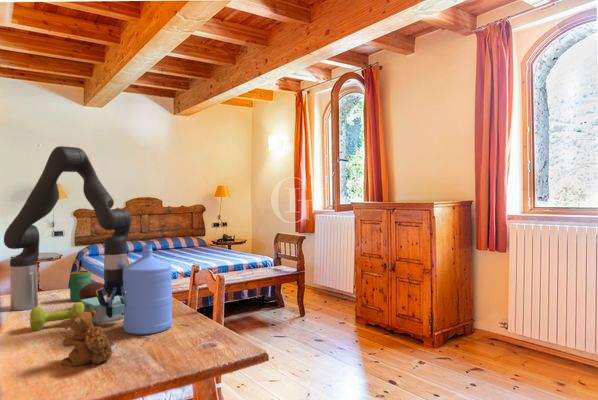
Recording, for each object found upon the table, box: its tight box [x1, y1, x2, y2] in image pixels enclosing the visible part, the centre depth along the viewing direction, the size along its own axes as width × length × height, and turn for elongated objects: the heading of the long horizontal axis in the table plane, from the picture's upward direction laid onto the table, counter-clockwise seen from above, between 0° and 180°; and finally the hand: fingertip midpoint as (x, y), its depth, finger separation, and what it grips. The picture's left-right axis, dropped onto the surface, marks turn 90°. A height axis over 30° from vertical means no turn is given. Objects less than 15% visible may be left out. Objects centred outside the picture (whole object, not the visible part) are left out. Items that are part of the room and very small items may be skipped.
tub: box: [85, 305, 124, 325], centre depth 152 cm, size 12×9×6 cm
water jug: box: [122, 244, 173, 336], centre depth 141 cm, size 16×16×28 cm
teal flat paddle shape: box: [81, 295, 125, 315], centre depth 150 cm, size 19×11×3 cm, turn 49°
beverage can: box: [69, 270, 92, 303], centre depth 180 cm, size 8×8×12 cm
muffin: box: [79, 281, 107, 301], centre depth 166 cm, size 12×11×10 cm
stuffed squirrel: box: [60, 311, 114, 367], centre depth 113 cm, size 10×14×13 cm
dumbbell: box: [29, 302, 85, 332], centre depth 144 cm, size 16×8×7 cm, turn 122°
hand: (116, 315), depth 145 cm, fingers closed on teal flat paddle shape, 4 cm apart
